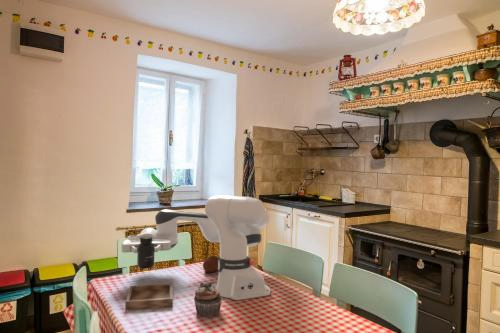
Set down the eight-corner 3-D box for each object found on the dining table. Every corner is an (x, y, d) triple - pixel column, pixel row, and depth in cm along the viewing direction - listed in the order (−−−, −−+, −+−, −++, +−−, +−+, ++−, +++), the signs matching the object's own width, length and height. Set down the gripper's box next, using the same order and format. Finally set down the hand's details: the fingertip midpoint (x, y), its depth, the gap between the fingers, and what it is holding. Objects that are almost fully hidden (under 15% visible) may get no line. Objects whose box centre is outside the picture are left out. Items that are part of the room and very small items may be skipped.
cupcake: (197, 320, 113) (198, 290, 113) (191, 309, 122) (192, 281, 122) (225, 316, 117) (226, 287, 117) (217, 305, 126) (217, 278, 126)
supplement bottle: (149, 269, 137) (149, 239, 137) (133, 268, 139) (134, 238, 138) (157, 264, 144) (157, 235, 144) (142, 263, 145) (142, 234, 145)
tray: (171, 291, 139) (172, 283, 139) (172, 307, 123) (172, 298, 123) (130, 293, 135) (130, 286, 135) (125, 310, 120) (125, 301, 120)
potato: (198, 273, 162) (198, 257, 162) (208, 267, 172) (208, 252, 172) (214, 275, 159) (215, 259, 159) (224, 269, 169) (224, 254, 169)
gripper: (171, 248, 156) (171, 256, 143) (123, 250, 151) (119, 259, 138) (171, 234, 156) (172, 241, 143) (123, 236, 151) (119, 243, 138)
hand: (145, 250), depth 140 cm, fingers closed on supplement bottle, 7 cm apart
